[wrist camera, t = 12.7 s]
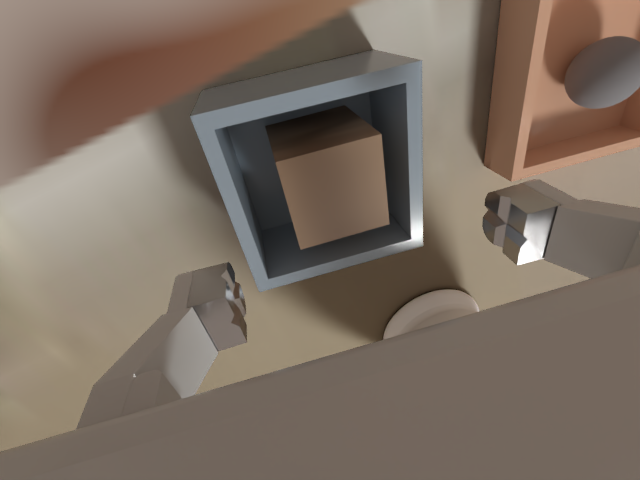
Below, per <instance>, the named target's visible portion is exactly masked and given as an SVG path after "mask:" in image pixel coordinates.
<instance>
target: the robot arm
mask: <svg viewBox="0 0 640 480" xmlns="http://www.w3.org/2000/svg"><path fill="white" fill-rule="evenodd" d="M485 206H486V208H487V209H488V211H487V213H486V214H485V215H484V217H483V230H484V233H485V235H486V237H487V239H488V240H489V241H490V242H491V243H492V244H494V245H497V246H500V247H503V253H504V254H505V255H506V256H507V257H508V258H509V259H510V260H512V261H513V262H514V263H515V264H516V265H520V264H524V263H528V262H532V261H536V260H540V259H544V260H546V261H548V262H551V263H553V264H556V265H558V266H561V267H563V268H566V269H568V270H571V271H573V272H576V273H578V274H581V275H584V276H586V277H589V278H591V279H589V280H586V281H582V282H579V283H575V284H572V285H568V286H565V287H561V288H558V289H555V290H551V291H548V292H544V293H541V294H537V295H534V296H531V297H527V298H524V299H520V300H517V301H513V302H510V303H506V304H503V305H500V306H496V307H493V308H489V309H486V310H482V311H479V312H476V313H472V314H469V315H465V316H462V317H459V318H455V319H452V320H448V321H445V322H442V323H438V324H435V325H431V326H428V327H425V328H421V329H418V330H414V331H411V332H408V333H404V334H401V335H397V336H394V337H391V338H387V339H384V340H380V341H377V342H374V343H370V344H367V345H363V346H360V347H357V348H353V349H350V350H346V351H343V352H340V353H336V354H333V355H329V356H326V357H323V358H319V359H316V360H312V361H309V362H305V363H302V364H299V365H295V366H292V367H288V368H285V369H282V370H278V371H275V372H271V373H268V374H265V375H261V376H258V377H254V378H251V379H247V380H244V381H241V382H237V383H234V384H230V385H227V386H224V387H220V388H217V389H213V390H210V391H207V392H203V393H200V394H196V395H195V393H196V391H197V389H198V388H199V386H200V384H201V382H202V381H203V379H204V377H205V375H206V374H207V372H208V370H209V368H210V367H211V365H212V363H213V361H214V360H215V358H216V356H217V354H218V351H221V350H224V349H227V348H230V347H234V346H237V345H240V344H243V343H246V342H247V325H246V322H245V320H244V318H243V317H244V316H245V314H246V305H245V299H244V295H243V292H242V289H241V287H240V284H239V283H237V282H235V273H234V270H233V268H232V266H231V264H230V263H229V262H227V263H223V264H219V265H214V266H210V267H206V268H202V269H198V270H195V271H190V272H187V273H183V274H179V275H178V276H176V278H175V282H174V286H173V290H172V294H171V298H170V303H169V307H168V311H167V314H165V315H161V316H160V317H159V319H158V320H157V321H156V322H155V323H154V324H153V325H152V326H151V327H150V328H149V329H148V330H147V331H146V332H145V333H144V334H143V335H142V336H141V337H140V338H139V339H138V340H137V341H136V342H135V343H134V344H133V345H132V346H131V347H130V348H129V349H128V350H127V351H126V352H125V354H124V355H123V356H122V357H121V358H120V359H119V360H118V361H117V362H116V363H115V364H114V365H113V366H112V367H111V368H110V369H109V370H108V371H107V372H106V373H105V374H104V375H103V376H102V377H101V378H100V379H99V380H98V381H97V382H96V383H95V384H94V385H93V388H92V390H91V393H90V395H89V398H88V400H87V403H86V405H85V408H84V411H83V413H82V416H81V418H80V421H79V423H78V426H77V428H76V430H73V431H70V432H66V433H63V434H59V435H56V436H53V437H49V438H46V439H42V440H39V441H35V442H32V443H29V444H25V445H22V446H18V447H15V448H12V449H8V450H5V451H1V452H0V480H640V208H636V207H629V206H623V205H617V204H611V203H604V202H598V201H592V200H586V199H583V200H577V199H575V198H573V197H572V196H570V195H568V194H566V193H564V192H562V191H560V190H558V189H556V188H554V187H553V186H551V185H549V184H547V183H545V182H543V181H541V180H536V179H533V180H530V181H527V182H523V183H520V184H518V185H514V186H511V187H507V188H504V189H500V190H497V191H493V192H490V193H488V194H487V196H486V199H485Z"/></svg>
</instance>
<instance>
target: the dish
mask: <svg viewBox="0 0 640 480" xmlns="http://www.w3.org/2000/svg"><path fill="white" fill-rule="evenodd" d="M613 36H626V37H630V38H633V39H636V40H637V41H639V42H640V0H501V8H500V17H499V27H498V36H497V46H496V55H495V65H494V74H493V83H492V93H491V102H490V112H489V121H488V131H487V140H486V149H485V159H484V166H486V167H487V168H489V169H491V170H492V171H494V172H496V173H497V174H499V175H501V176H503V177H504V178H506V179H508V180H509V181H515V180H519V179H522V178H526V177H530V176H533V175H537V174H541V173H544V172H548V171H552V170H555V169H559V168H563V167H566V166H570V165H574V164H577V163H581V162H584V161H588V160H592V159H595V158H599V157H603V156H606V155H610V154H614V153H617V152H621V151H625V150H628V149H632V148H636V147H639V146H640V87H639V88H638V89H637V90H636V91H635V92H634V93H633V94H632V95H631V96H630V97H628V98H627V99H625V100H623V101H622V102H620V103H618V104H615V105H613V106H610V107H606V108H599V109H591V108H585V107H582V106H579V105H577V104H576V103H574V102H573V101H572V100H571V99H570V98H569V96H568V95H567V93H566V90H565V85H564V82H565V75H566V71H567V69H568V67H569V65H570V63H571V62H572V60H573V59H574V58H575V57H576V56H577V55H578V54H579V53H580V52H581V51H582V50H583V49H584V48H586V47H587V46H589V45H590V44H592V43H594V42H596V41H598V40H601V39H604V38H607V37H613Z"/></svg>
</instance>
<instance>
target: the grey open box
mask: <svg viewBox="0 0 640 480" xmlns="http://www.w3.org/2000/svg"><path fill="white" fill-rule="evenodd" d="M343 105H345V106H347V107H348V108H349V109H350V110H352V111H353V112H354V113H355V114H357V115H358V116H359V117H361V118H362V119H363V120H364V121H366V122H367V123H368V124H370V125H371V126H372V127H373V128H375V129H376V130H377V131H379V132H380V133H381V134H382V145H383V156H384V168H385V179H386V190H387V202H388V213H389V225H385V226H382V227H378V228H375V229H371V230H368V231H364V232H361V233H357V234H354V235H350V236H347V237H343V238H340V239H336V240H333V241H329V242H326V243H323V244H319V245H316V246H312V247H309V248H305V249H302V250H300V247H299V243H298V240H297V236H296V233H295V229H294V226H293V222H292V219H291V215H290V212H289V208H288V205H287V201H286V198H285V194H284V191H283V187H282V184H281V180H280V177H279V173H278V170H277V166H276V163H275V159H274V156H273V152H272V149H271V145H270V142H269V138H268V135H267V131H266V128H265V126H267V125H271V124H275V123H278V122H282V121H286V120H290V119H294V118H298V117H301V116H305V115H309V114H313V113H317V112H320V111H324V110H328V109H332V108H336V107H340V106H343ZM190 118H191V120H192V123H193V125H194V128H195V130H196V133H197V135H198V138H199V140H200V143H201V145H202V148H203V151H204V153H205V156H206V158H207V161H208V163H209V166H210V168H211V171H212V173H213V176H214V178H215V181H216V184H217V186H218V189H219V191H220V194H221V196H222V199H223V201H224V204H225V206H226V209H227V211H228V214H229V217H230V219H231V222H232V224H233V227H234V229H235V232H236V234H237V237H238V239H239V242H240V244H241V247H242V249H243V252H244V255H245V257H246V260H247V262H248V265H249V267H250V270H251V272H252V275H253V277H254V280H255V282H256V285H257V288H258V290H259V292H262V291H265V290H269V289H272V288H276V287H280V286H283V285H287V284H290V283H294V282H297V281H301V280H304V279H308V278H311V277H315V276H318V275H322V274H325V273H329V272H333V271H336V270H340V269H343V268H347V267H350V266H354V265H357V264H361V263H364V262H368V261H371V260H375V259H379V258H382V257H386V256H389V255H393V254H396V253H400V252H403V251H407V250H410V249H414V248H417V247H421V246H423V162H422V60H418V59H414V58H409V57H405V56H400V55H396V54H391V53H387V52H382V51H378V50H370V51H366V52H362V53H357V54H353V55H349V56H345V57H340V58H336V59H332V60H328V61H323V62H319V63H315V64H311V65H307V66H302V67H298V68H294V69H290V70H285V71H281V72H277V73H273V74H268V75H264V76H260V77H256V78H252V79H247V80H243V81H239V82H235V83H230V84H226V85H222V86H218V87H214V88H209V89H205V90H202V91H201V93H200V95H199V98H198V100H197V102H196V104H195V106H194V109H193V111H192V113H191V115H190Z"/></svg>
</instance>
